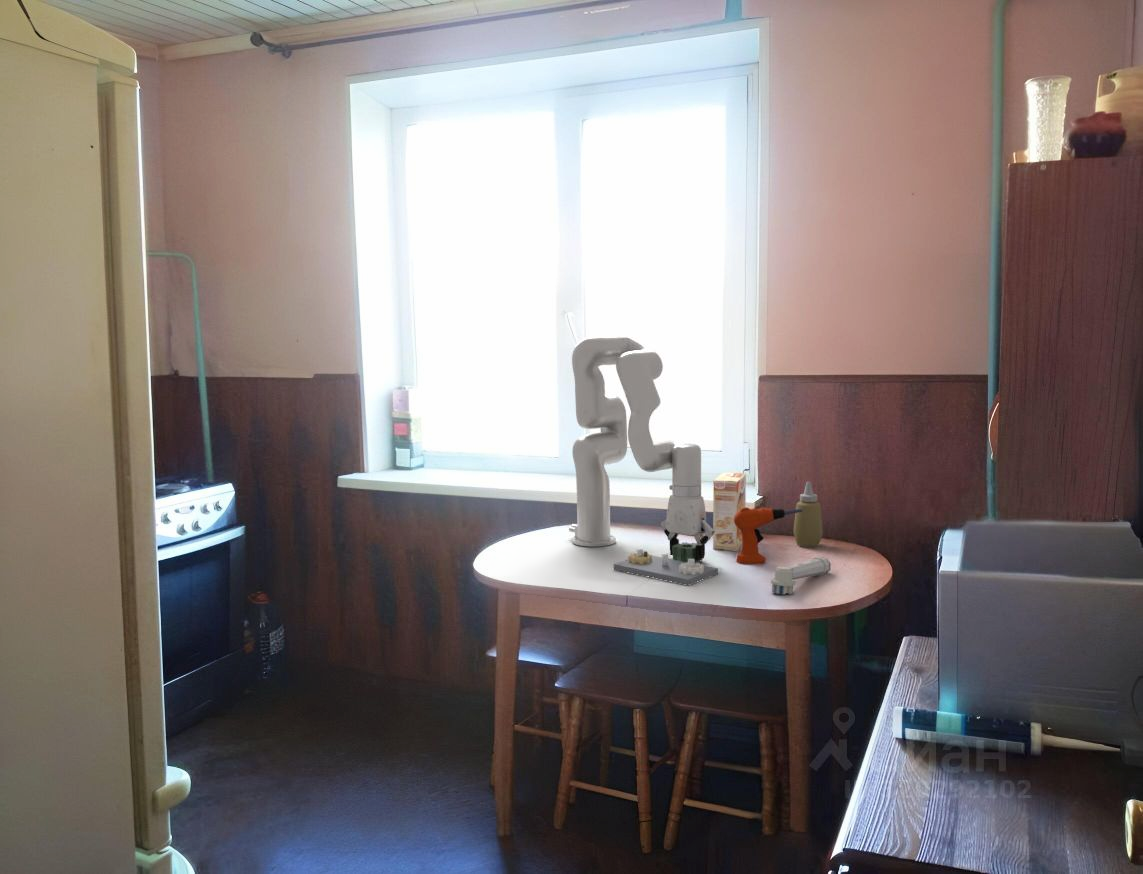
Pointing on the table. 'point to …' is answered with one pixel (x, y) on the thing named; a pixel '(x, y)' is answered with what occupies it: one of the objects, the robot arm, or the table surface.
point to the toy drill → (755, 531)
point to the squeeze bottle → (808, 519)
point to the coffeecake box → (728, 509)
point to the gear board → (665, 568)
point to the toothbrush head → (798, 574)
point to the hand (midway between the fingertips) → (687, 556)
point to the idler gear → (684, 552)
